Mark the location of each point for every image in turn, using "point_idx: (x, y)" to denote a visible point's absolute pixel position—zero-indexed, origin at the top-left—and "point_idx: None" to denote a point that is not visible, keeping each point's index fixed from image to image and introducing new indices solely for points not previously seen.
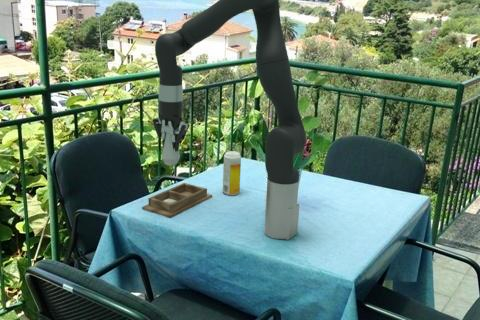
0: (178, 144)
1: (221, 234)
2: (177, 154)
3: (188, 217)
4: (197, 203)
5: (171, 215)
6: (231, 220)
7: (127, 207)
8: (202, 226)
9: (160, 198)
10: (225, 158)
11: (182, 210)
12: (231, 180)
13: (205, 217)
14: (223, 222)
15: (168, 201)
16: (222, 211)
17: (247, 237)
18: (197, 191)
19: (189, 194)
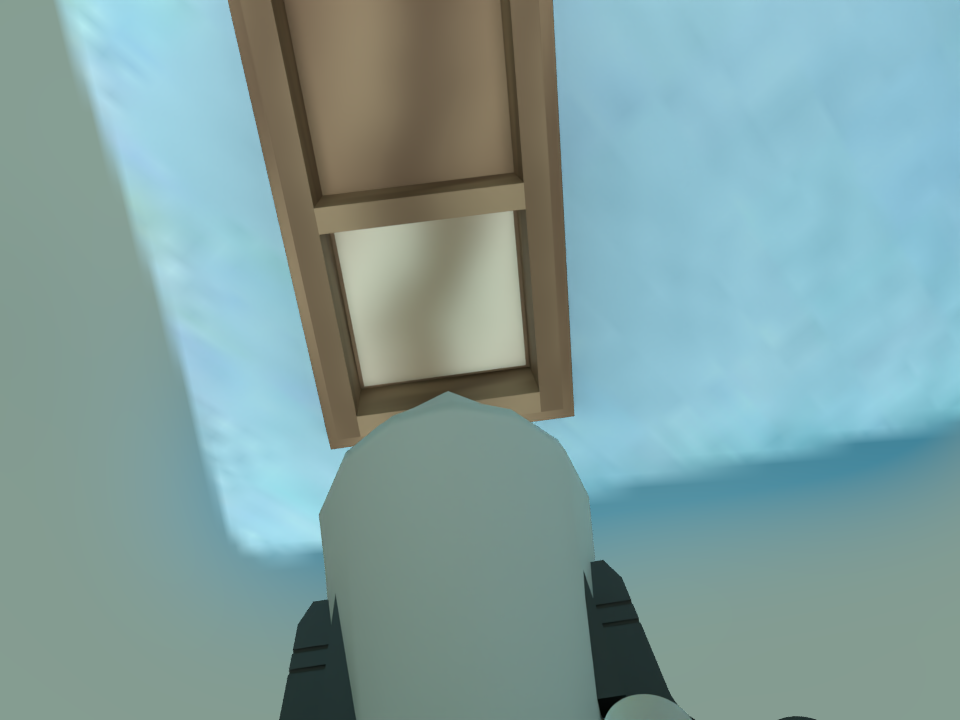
0: (655, 666)
1: (943, 355)
2: (591, 541)
3: (650, 323)
4: (555, 109)
5: (573, 407)
6: (916, 156)
7: (243, 483)
8: (797, 355)
9: (342, 322)
10: None
11: (567, 298)
12: None
13: (741, 246)
14: (882, 221)
15: (384, 270)
16: (788, 70)
17: None
18: None
19: (377, 12)
